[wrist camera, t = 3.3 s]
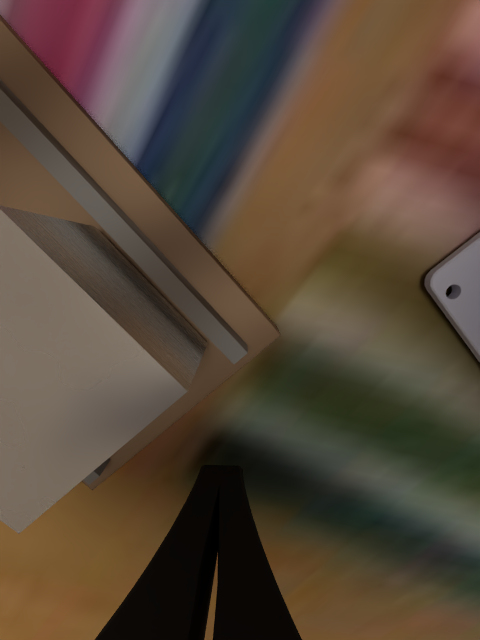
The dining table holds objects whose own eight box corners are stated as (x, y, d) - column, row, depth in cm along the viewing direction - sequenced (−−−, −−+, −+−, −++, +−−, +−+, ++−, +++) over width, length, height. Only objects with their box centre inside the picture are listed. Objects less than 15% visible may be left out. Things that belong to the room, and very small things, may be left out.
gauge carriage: (207, 343, 9) (187, 391, 5) (55, 475, 10) (-31, 575, 7) (79, 210, 8) (-33, 177, 5) (-69, 376, 9) (-236, 439, 6)
